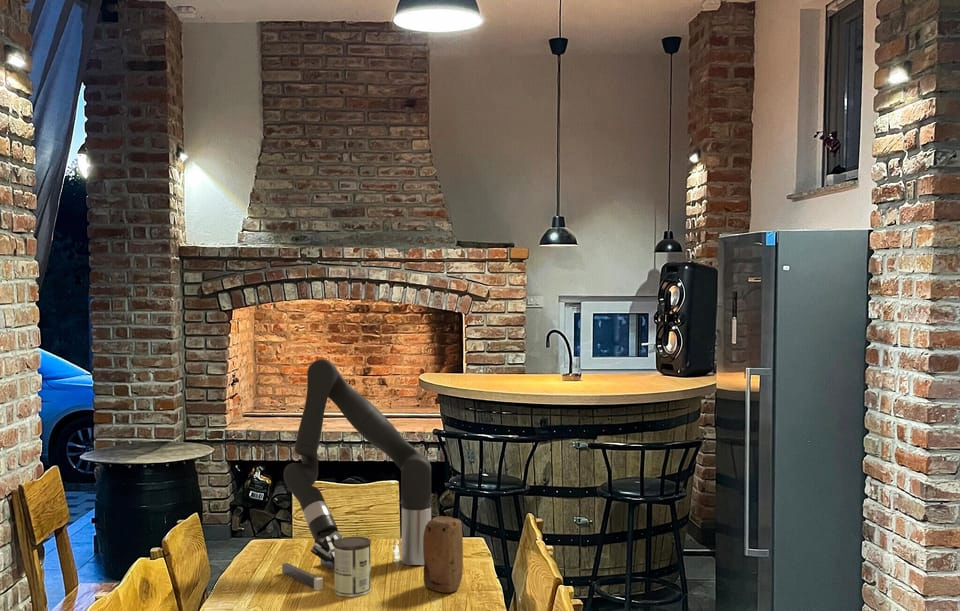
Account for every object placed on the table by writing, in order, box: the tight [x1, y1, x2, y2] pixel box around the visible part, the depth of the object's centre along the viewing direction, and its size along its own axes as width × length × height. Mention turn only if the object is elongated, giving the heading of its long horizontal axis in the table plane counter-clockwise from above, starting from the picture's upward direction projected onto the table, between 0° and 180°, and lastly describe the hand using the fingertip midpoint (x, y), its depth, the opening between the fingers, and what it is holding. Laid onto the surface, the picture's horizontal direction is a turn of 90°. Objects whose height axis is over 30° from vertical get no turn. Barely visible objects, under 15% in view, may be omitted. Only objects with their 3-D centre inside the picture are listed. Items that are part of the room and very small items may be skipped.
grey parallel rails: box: [281, 558, 335, 592], centre depth 259 cm, size 15×20×3 cm
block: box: [423, 515, 464, 594], centre depth 248 cm, size 11×8×20 cm
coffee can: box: [334, 536, 372, 598], centre depth 246 cm, size 10×10×14 cm
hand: (342, 571), depth 250 cm, fingers closed
